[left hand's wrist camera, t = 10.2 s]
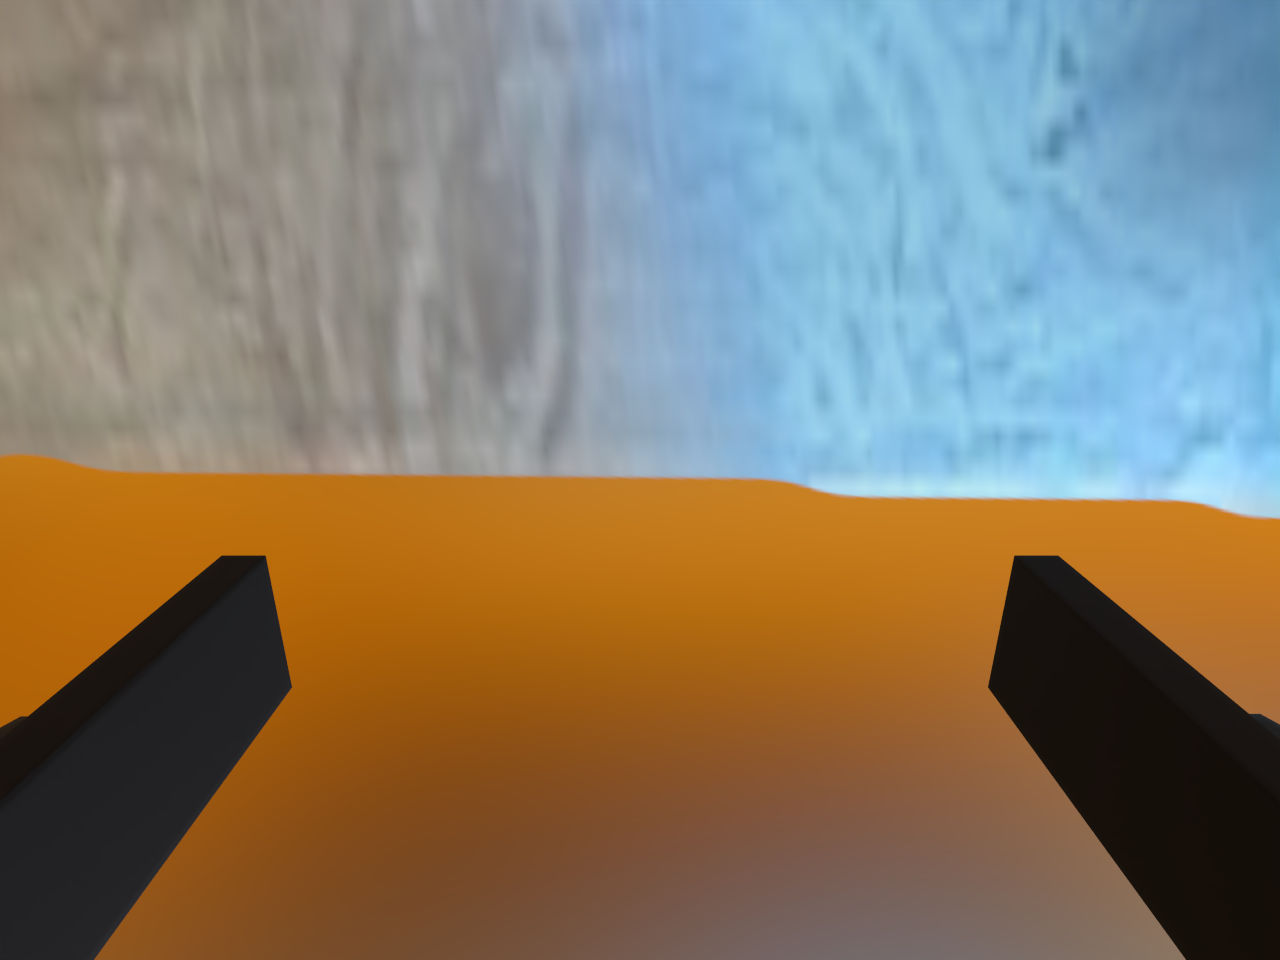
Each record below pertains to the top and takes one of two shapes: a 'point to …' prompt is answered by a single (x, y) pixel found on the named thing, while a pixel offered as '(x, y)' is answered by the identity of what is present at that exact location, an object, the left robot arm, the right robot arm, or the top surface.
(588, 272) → the top surface
